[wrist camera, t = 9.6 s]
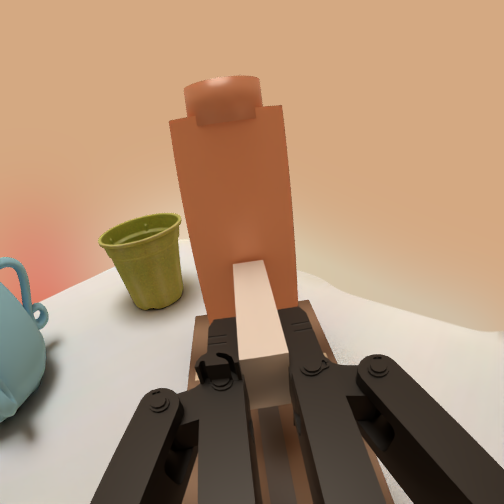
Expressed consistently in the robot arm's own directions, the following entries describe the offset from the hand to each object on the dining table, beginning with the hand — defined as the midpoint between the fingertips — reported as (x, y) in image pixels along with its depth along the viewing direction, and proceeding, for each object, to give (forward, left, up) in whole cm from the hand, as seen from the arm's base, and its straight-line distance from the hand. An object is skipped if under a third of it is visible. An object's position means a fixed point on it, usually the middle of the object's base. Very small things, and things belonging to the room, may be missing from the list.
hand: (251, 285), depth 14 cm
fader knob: (-1, +1, -6) cm, 7 cm away
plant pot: (-18, +7, -9) cm, 21 cm away
